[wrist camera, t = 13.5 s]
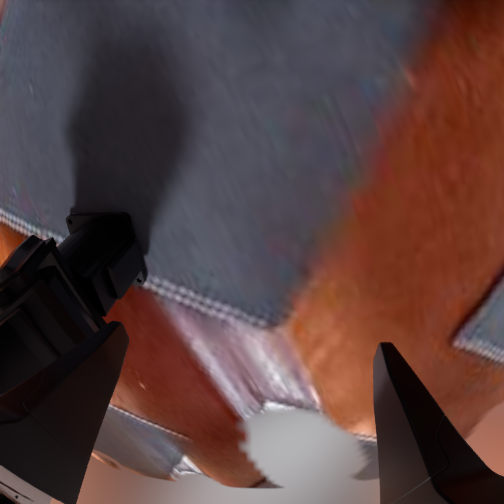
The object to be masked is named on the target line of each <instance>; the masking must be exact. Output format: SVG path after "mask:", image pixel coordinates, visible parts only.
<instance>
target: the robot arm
mask: <svg viewBox="0 0 504 504" xmlns="http://www.w3.org/2000/svg"><path fill="white" fill-rule="evenodd" d="M122 218H124V219H125V221H123V219H122ZM71 220H72V221H71ZM66 223H67V226H68V229H69V232H70V236H68V237H67V238H66V239H65V240H64V241H63V242H62V243H61V244H60V245H59V246H58V247H57V246H56V242H55V240H54V238H53V237H51V238H49V239H47V240H45V241H44V240H43V241H42V239H39V238H38V237H36V236H35V235H31V236H29V237H28V238H27V239H26V240H25V241H23V242H22V243H21V244H20V245H19V246H18V247H17V248H16V249H15V250H14V251H13V252H12V253H11V254H10V255H9V256H8V258H7V259H6V260H5V262H4V263H3V264H2V266H1V267H0V504H50V502H51V499H52V497H53V498H54V499H56V500H58V501H60V502H62V503H64V504H76V502H77V499H78V495H79V492H80V489H81V485H82V482H83V479H84V475H85V472H86V469H87V465H88V462H89V460H90V457H91V453H92V450H93V448H94V445H95V442H96V439H97V436H98V433H99V430H100V427H101V424H102V422H103V419H104V416H105V413H106V411H107V408H108V405H109V403H110V400H111V397H112V395H113V392H114V389H115V387H116V384H117V382H118V379H119V376H120V373H121V369H122V366H123V362H124V358H125V355H126V351H127V348H128V345H129V337H128V334H127V332H126V330H125V327H124V325H123V323H121V322H117V321H111V322H110V323H108V324H107V323H106V322H105V320H104V319H103V318H102V316H104V317H105V316H106V315H107V314H108V312H109V311H110V309H111V308H112V306H113V305H114V303H115V302H116V300H117V299H119V300H120V299H122V297H123V296H124V294H125V293H126V292H127V290H128V289H129V287H130V286H131V284H133V285H143V284H144V283H145V281H146V276H145V272H144V269H143V263H142V259H141V255H140V252H139V248H138V244H137V241H136V239H135V235H134V231H133V227H132V223H131V219H130V216H129V215H128V214H127V213H91V214H71V215H69V216H68V217H67V218H66ZM139 278H140V279H141V280H140V279H139ZM373 387H374V394H373V399H374V414H375V424H376V434H377V446H378V460H379V477H380V504H504V476H501V475H499V474H497V473H495V472H493V471H492V470H491V469H490V468H489V467H487V466H486V464H485V463H484V462H483V461H482V460H481V459H480V457H479V456H478V455H477V454H476V453H475V452H474V451H473V449H472V448H471V447H470V446H469V445H468V444H467V442H466V441H465V440H464V439H463V438H462V436H461V435H460V434H459V433H458V431H457V430H456V429H455V427H454V426H453V425H452V423H451V422H450V420H449V419H448V418H447V416H445V414H444V412H443V411H442V409H441V408H440V407H439V405H438V404H437V402H436V401H435V400H434V398H433V397H432V395H431V394H430V393H429V391H428V390H427V389H426V387H425V386H424V385H423V383H422V382H421V380H420V379H419V378H418V376H417V375H416V374H415V372H414V371H413V370H412V368H411V367H410V366H409V364H408V363H407V362H406V360H405V359H404V358H403V357H402V355H401V354H400V353H399V351H398V350H397V349H396V347H395V346H394V345H393V344H392V343H391V342H381V343H379V345H378V348H377V351H376V354H375V356H374V361H373Z"/></svg>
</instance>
